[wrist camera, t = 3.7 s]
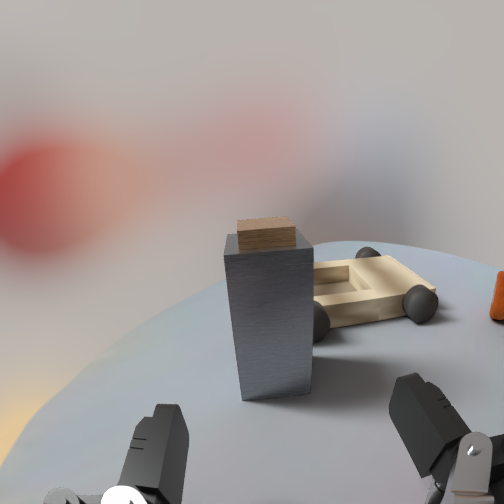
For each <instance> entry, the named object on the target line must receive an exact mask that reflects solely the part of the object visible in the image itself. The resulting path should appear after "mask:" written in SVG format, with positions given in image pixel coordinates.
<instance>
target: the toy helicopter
mask: <svg viewBox="0 0 504 504" xmlns="http://www.w3.org/2000/svg"><path fill="white" fill-rule="evenodd" d="M490 317H491V318H492V319H496V320H504V271H500V272H499V273H498V275H497V280H496V285H495V290H494V295H493V299H492V304H491V309H490Z"/></svg>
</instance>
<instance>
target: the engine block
mask: <svg viewBox="0 0 504 504" xmlns="http://www.w3.org/2000/svg"><path fill="white" fill-rule="evenodd" d="M224 263H225V271H226V280H227V289H228V297H229V305H230V314H231V322H232V329H233V337H234V345H235V352H236V360H237V367H238V374H239V381H240V388H241V395H242V401H243V400H257V399H268V398H278V397H287V396H295V395H302V394H309V393H310V390H311V372H312V349H313V312H314V252H313V247H312V245H311V244H310V243H309V242H308V241H307V240H306V239H305V237H304V236H303V235H302V234H301V233H300V232H299V231H298V229H296V227H295V225H294V224H293V223H292V222H291V221H290V220H289V219H288V217H272V218H260V219H247V220H238V224H237V234H228V235H227V240H226V245H225V251H224Z"/></svg>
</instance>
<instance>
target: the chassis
mask: <svg viewBox="0 0 504 504" xmlns="http://www.w3.org/2000/svg"><path fill="white" fill-rule="evenodd" d="M435 291H436V288H435V287H433V286H432V285H431V284H429V283H428V282H427V281H425V280H424V279H422V278H421V277H419V276H418V275H417V274H415V273H414V272H412V271H411V270H410V269H408V268H407V267H405V266H404V265H402V264H401V263H399V262H398V261H396V260H395V259H393V258H392V257H391V256H389V255H387V256H381V255H380V254H379V253H378V252H377V251H375V250H374V249H373V248H371V247H364V248H362V249H360V250H359V251H358V253H357V254H356V257H355V259H348V260H337V261H327V262H316V263H314V312H313V343H315V342H317V341H319V340H321V339H323V338H324V337H325V336H326V335H327V333H328V332H329V329H330V328H336V327H343V326H349V325H356V324H362V323H368V322H373V321H379V320H385V319H390V318H395V317H400V316H405V315H408V316H409V317H410V318H411V319H412V320H413V321H414V322H416V323H424V322H426V321H428V320H429V319H430V318H431V317H432V316H433V315H434V314H435V312H436V310H437V307H438V297H437V295H436V294H435Z"/></svg>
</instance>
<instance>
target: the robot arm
mask: <svg viewBox="0 0 504 504" xmlns="http://www.w3.org/2000/svg"><path fill="white" fill-rule="evenodd" d="M389 414H390V417H391V420H392V421H393V423H394V425H395V427H396V429H397V431H398V433H399V435H400V437H401V439H402V441H403V442H404V444H405V446H406V448H407V450H408V452H409V454H410V456H411V458H412V460H413V462H414V464H415V466H416V468H417V470H418V472H419V474H420V476H421V478H424V477H426V476H428V475H431V474H432V476H433V478H434V479H433V480H432V482H431V486H430V489H429V492H428V495H427V498H426V501H425V504H504V434H502V435H498V436H494V437H488V436H486V435H485V434H483V433H480V432H471V430H470V429H469V428H468V426H467V425H466V424H465V422H464V421H463V419H462V418H461V417H460V415H459V414H458V413H457V411H456V410H455V409H454V407H453V406H451V403H450V402H449V400H448V399H446V397H445V395H444V394H443V393H442V391H441V390H440V389H439V388H438V387H437V386H435V385H433V384H432V383H430V382H426V383H425V382H424V381H423V379H422V378H421V377H420V375H419V374H418V373H413V374H409V375H406V376H402V377H399V378H398V379H397V380H396V383H395V387H394V390H393V394H392V397H391V400H390V403H389ZM132 438H133V440H131V443H130V449H129V450H128V453H127V456H126V460H125V463H124V466H123V469H122V473H121V476H120V480H119V482H118V484H117V486H116V487H113V488H111V489H110V490H108V491H107V492H106V493H105V494H103V495H92V496H77V495H76V494H75V493H74V492H73V491H71V490H70V489H67V488H62V487H59V488H55V489H52V490H51V491H50V492H49V493H48V494H47V495H46V497H45V500H44V503H43V504H181V501H182V493H183V485H184V477H185V469H186V462H187V455H188V447H189V433H188V429H187V426H186V423H185V420H184V418H183V415H182V412H181V409H180V407H179V405H178V404H157V405H156V407H155V411H154V414H153V417H144V418H143V419H142V420H141V421H140V422H139V424H138V425H137V426H136V428H135V431H134V434H133V437H132Z"/></svg>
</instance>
